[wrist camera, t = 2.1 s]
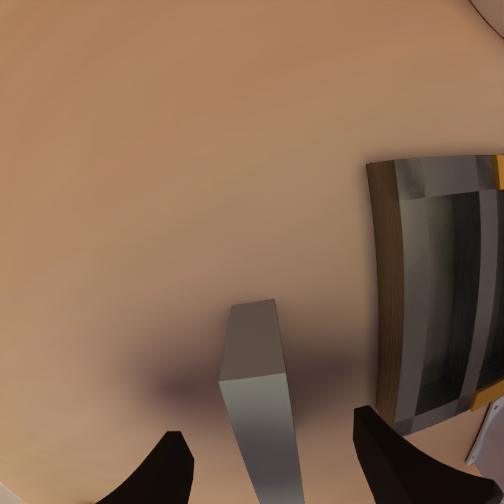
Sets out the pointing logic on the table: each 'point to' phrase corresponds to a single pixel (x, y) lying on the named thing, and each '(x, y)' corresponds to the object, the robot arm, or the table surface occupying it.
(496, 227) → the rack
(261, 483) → the panel
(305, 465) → the table surface
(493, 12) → the candle holder
